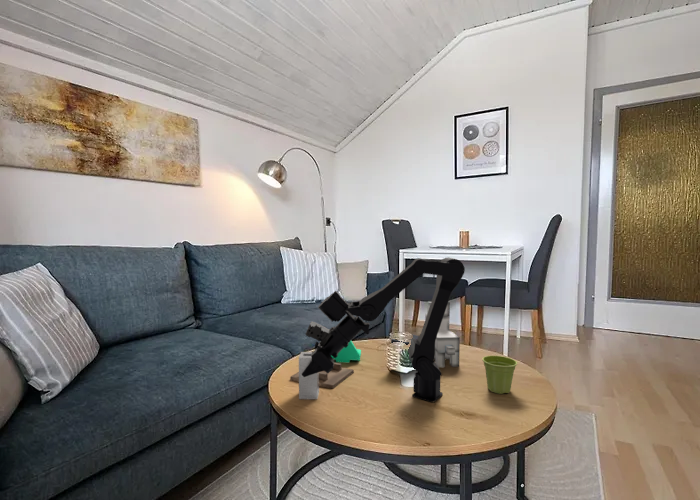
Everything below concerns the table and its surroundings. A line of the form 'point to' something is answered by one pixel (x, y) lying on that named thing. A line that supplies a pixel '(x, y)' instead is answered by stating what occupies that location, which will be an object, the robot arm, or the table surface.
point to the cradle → (330, 376)
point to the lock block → (307, 379)
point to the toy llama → (446, 342)
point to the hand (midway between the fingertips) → (304, 372)
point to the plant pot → (499, 373)
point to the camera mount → (348, 353)
